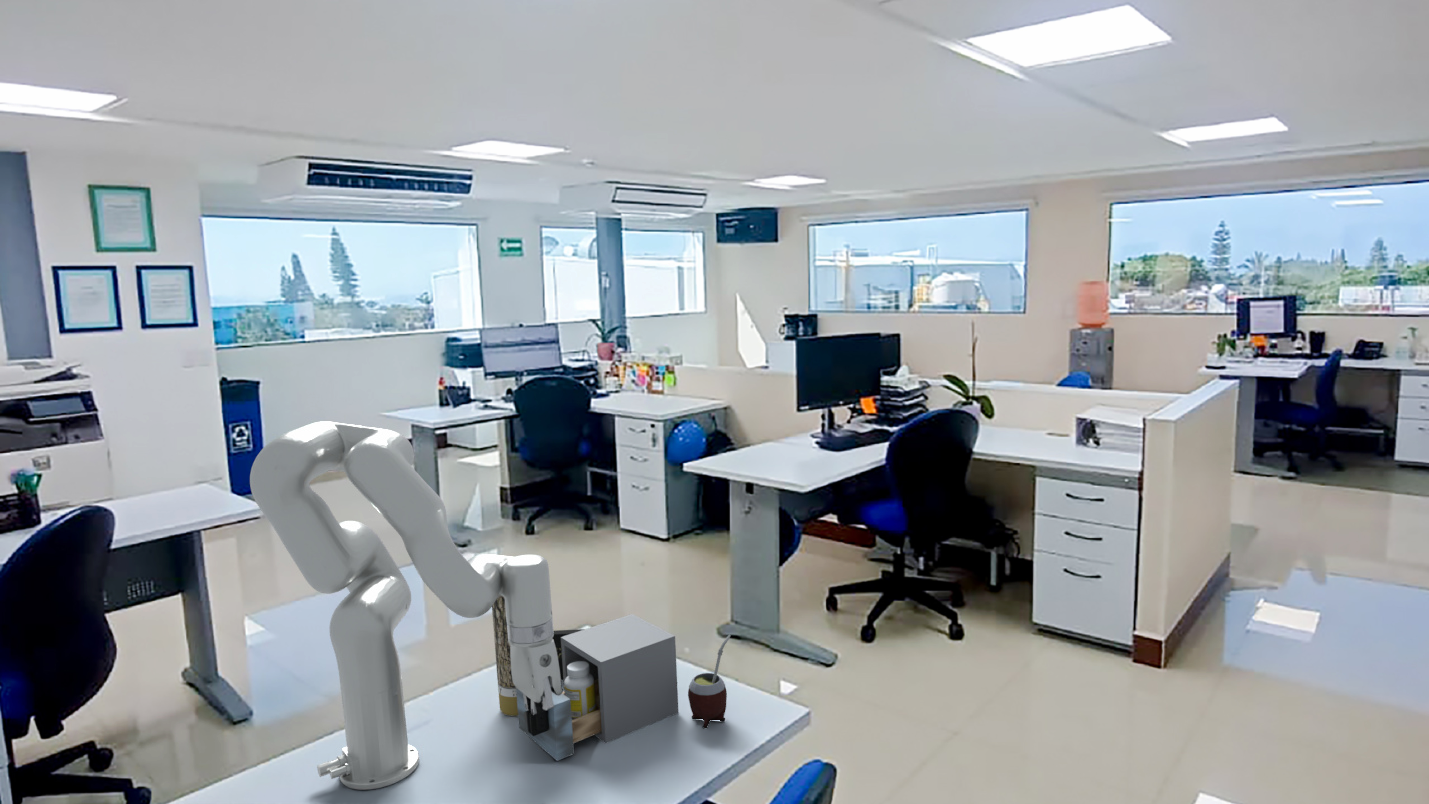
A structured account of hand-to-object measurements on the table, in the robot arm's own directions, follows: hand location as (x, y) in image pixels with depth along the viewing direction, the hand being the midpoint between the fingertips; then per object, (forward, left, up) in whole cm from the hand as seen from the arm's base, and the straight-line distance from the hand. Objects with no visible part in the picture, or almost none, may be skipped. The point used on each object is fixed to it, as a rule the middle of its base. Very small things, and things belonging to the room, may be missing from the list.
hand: (538, 731), depth 146 cm
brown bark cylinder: (+5, +19, -6) cm, 21 cm away
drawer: (+10, +4, -5) cm, 12 cm away
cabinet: (+19, +4, -5) cm, 20 cm away
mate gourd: (+30, -9, -6) cm, 32 cm away
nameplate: (+19, +24, -6) cm, 31 cm away
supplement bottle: (+11, +5, -3) cm, 12 cm away
